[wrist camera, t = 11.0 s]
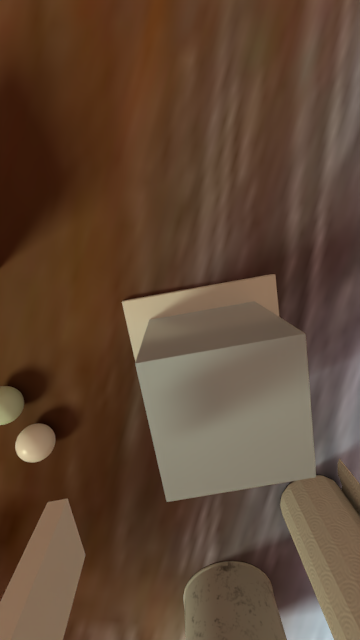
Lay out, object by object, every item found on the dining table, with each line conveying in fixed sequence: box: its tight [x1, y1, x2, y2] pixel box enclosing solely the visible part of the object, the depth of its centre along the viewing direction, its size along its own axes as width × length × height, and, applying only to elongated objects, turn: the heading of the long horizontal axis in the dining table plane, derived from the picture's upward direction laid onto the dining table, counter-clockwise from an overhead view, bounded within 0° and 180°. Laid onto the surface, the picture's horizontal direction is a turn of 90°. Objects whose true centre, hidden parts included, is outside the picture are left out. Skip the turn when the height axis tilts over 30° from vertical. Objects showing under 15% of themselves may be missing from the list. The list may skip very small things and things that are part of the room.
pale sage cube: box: [135, 301, 316, 502], centre depth 20 cm, size 8×8×9 cm
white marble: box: [15, 423, 56, 462], centre depth 24 cm, size 3×3×3 cm
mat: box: [122, 274, 279, 362], centre depth 24 cm, size 12×12×1 cm
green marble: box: [0, 386, 24, 425], centre depth 23 cm, size 3×3×3 cm
